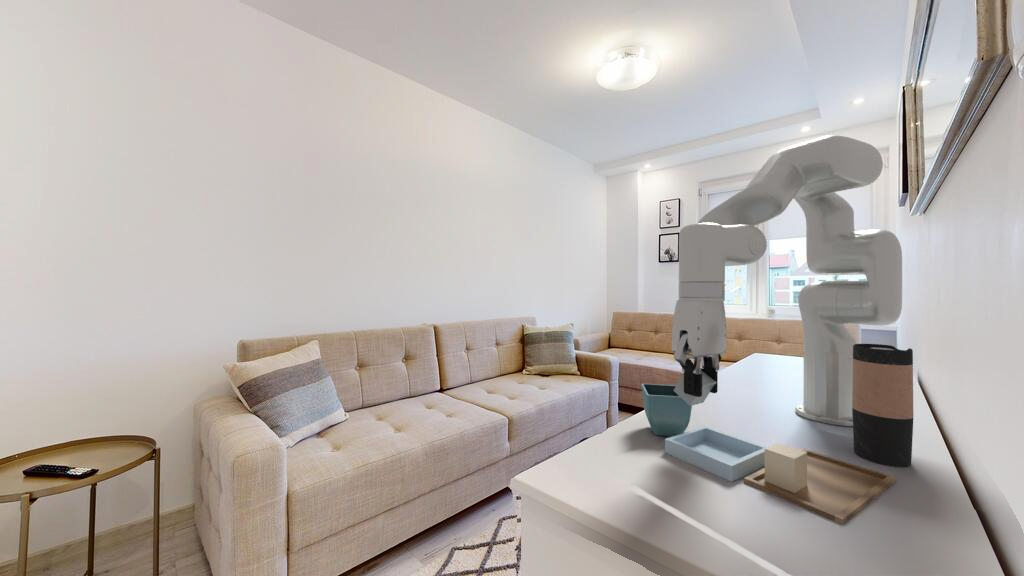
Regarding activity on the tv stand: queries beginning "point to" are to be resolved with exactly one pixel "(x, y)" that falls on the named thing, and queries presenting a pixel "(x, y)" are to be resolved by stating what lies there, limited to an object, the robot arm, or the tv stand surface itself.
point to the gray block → (690, 399)
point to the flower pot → (665, 409)
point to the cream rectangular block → (786, 467)
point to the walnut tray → (830, 487)
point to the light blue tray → (717, 452)
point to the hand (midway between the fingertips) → (700, 392)
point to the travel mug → (883, 404)
